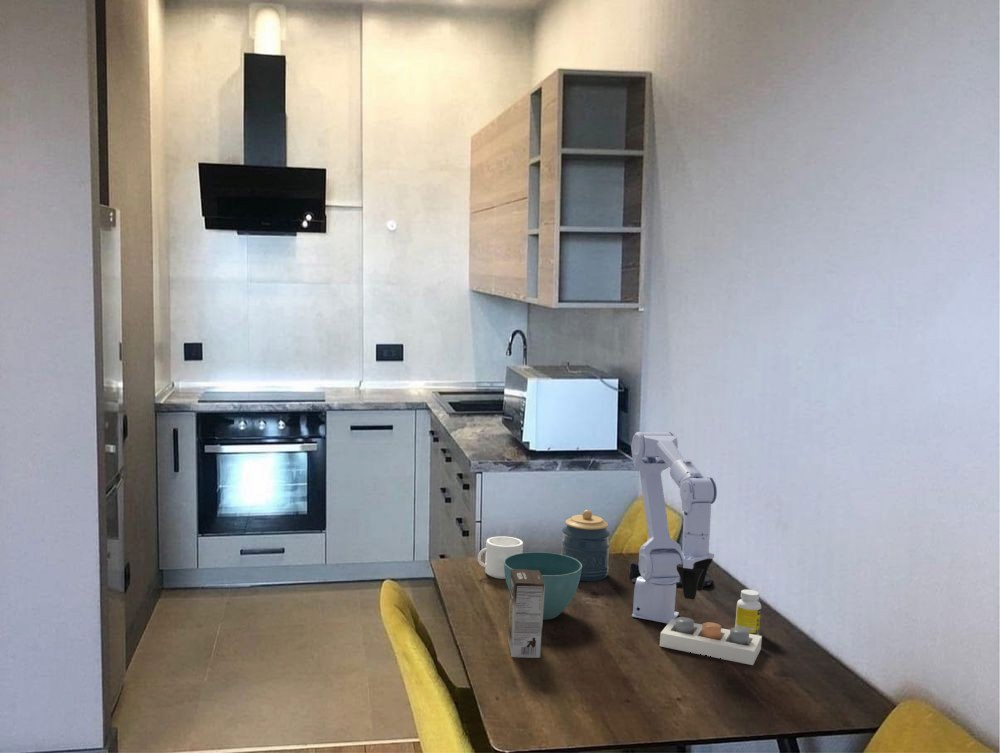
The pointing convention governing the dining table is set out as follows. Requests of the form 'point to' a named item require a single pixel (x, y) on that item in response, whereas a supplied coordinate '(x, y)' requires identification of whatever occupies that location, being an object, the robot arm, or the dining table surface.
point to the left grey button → (684, 625)
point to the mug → (499, 554)
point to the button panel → (711, 644)
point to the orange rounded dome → (711, 630)
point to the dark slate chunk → (635, 573)
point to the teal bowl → (549, 577)
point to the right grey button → (739, 636)
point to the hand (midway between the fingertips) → (693, 594)
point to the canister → (587, 544)
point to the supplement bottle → (748, 612)
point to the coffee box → (526, 613)
